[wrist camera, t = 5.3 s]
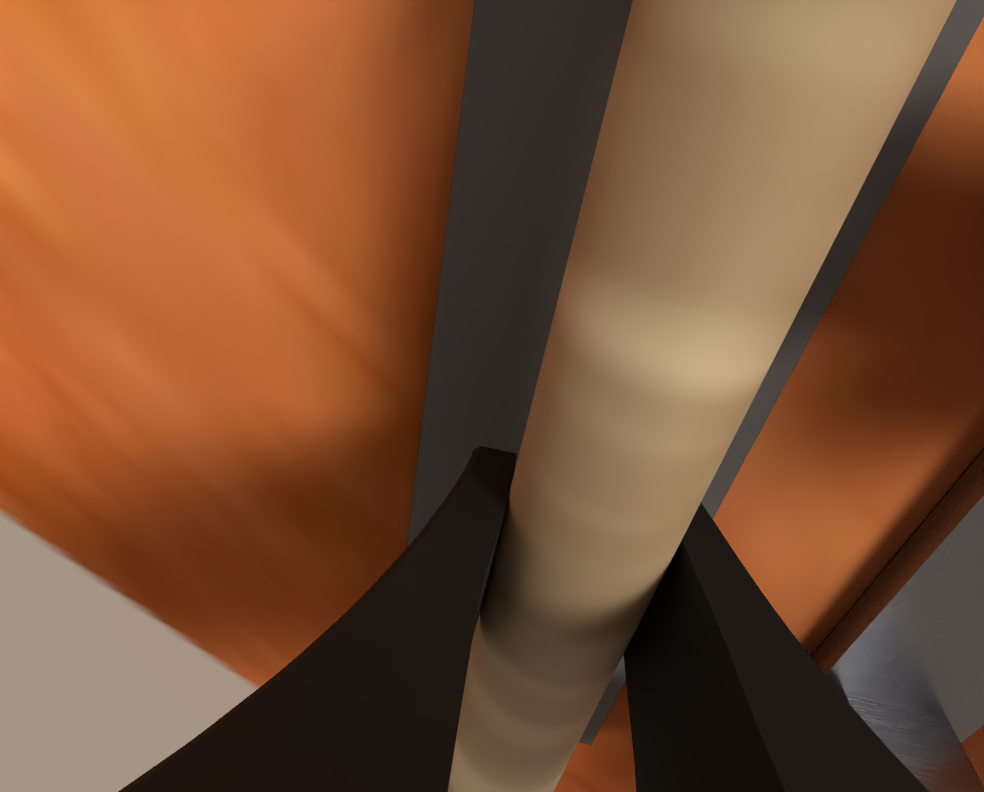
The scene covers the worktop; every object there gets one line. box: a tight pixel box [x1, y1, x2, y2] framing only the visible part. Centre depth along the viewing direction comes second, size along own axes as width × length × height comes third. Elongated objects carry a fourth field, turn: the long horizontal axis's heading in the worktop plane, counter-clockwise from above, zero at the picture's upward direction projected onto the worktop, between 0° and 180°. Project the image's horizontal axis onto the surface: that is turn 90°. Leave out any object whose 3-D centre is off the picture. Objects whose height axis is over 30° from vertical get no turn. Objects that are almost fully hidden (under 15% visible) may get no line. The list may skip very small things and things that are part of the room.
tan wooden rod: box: [448, 0, 957, 792], centre depth 9 cm, size 19×3×3 cm, turn 170°
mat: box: [407, 0, 984, 745], centre depth 11 cm, size 6×20×1 cm, turn 170°
